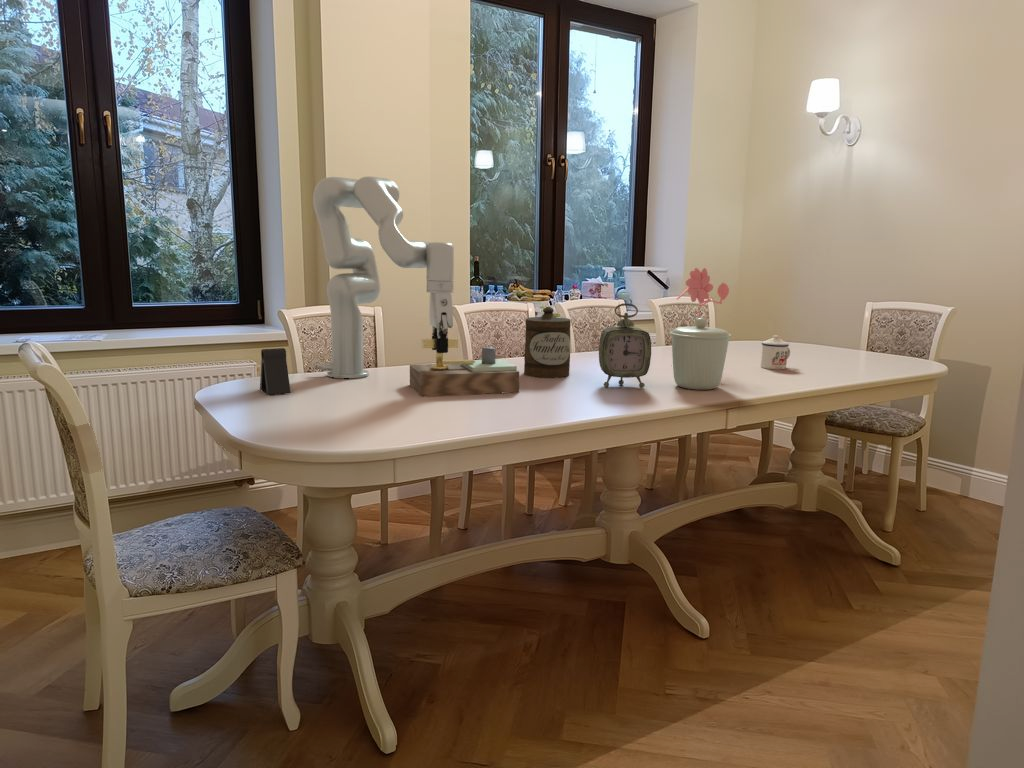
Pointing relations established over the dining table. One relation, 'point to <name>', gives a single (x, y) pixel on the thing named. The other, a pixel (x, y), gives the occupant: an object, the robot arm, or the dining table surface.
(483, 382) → the walnut case
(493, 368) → the lid
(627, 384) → the dining table surface
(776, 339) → the teacup with lid
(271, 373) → the black folding stand
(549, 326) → the wooden container
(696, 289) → the pink paper flower
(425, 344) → the t-shaped display stand
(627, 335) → the tabletop clock
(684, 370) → the canister
